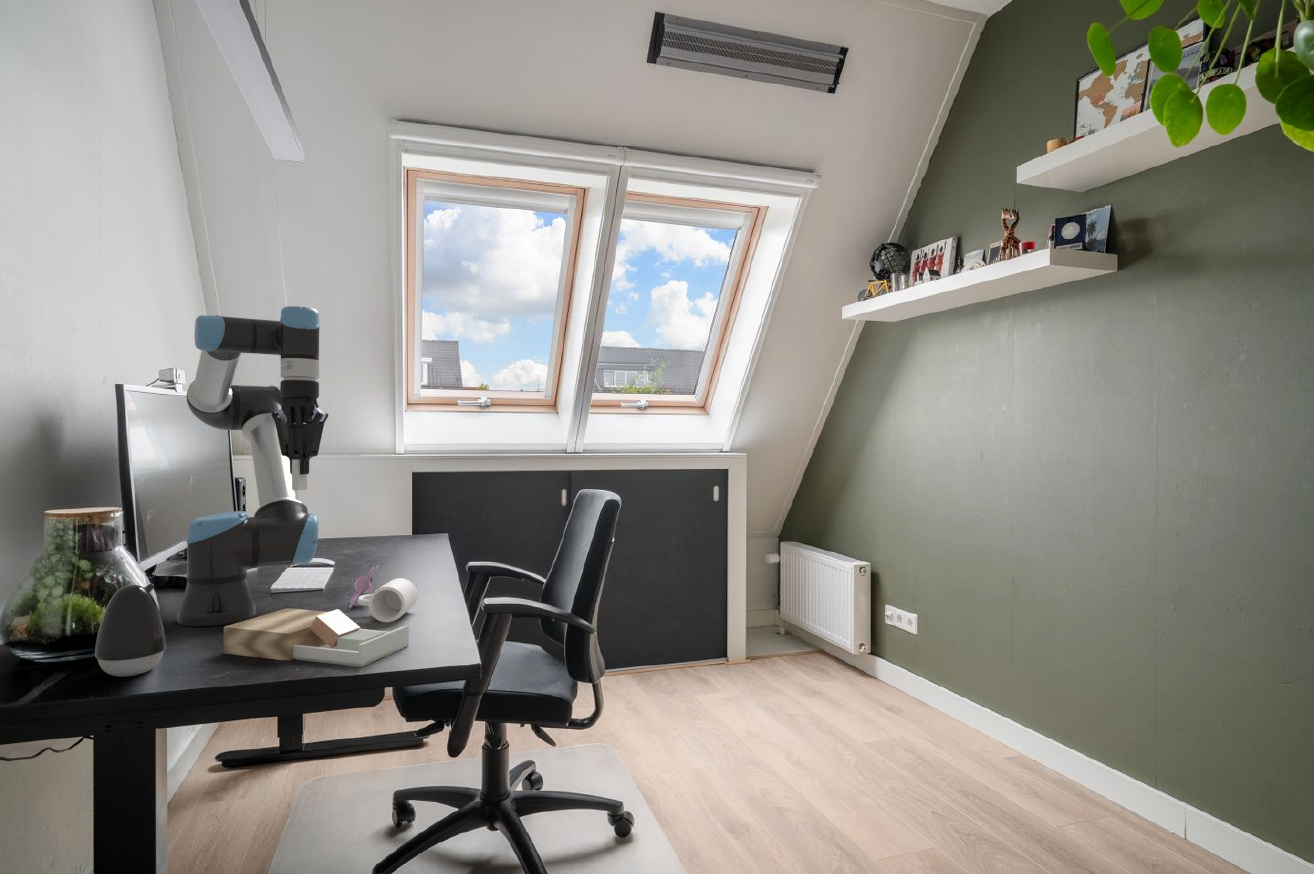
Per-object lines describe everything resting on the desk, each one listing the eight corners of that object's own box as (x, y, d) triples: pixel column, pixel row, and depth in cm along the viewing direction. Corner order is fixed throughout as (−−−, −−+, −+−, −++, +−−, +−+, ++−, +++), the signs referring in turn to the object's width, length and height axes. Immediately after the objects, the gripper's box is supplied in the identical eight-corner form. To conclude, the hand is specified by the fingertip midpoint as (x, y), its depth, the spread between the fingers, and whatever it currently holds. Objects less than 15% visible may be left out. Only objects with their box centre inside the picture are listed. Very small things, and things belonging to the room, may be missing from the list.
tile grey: (364, 640, 141) (364, 656, 141) (384, 632, 147) (384, 647, 147) (336, 637, 143) (336, 653, 143) (358, 629, 149) (358, 645, 149)
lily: (360, 601, 193) (341, 570, 190) (403, 583, 193) (385, 552, 190) (348, 627, 182) (328, 595, 178) (394, 609, 182) (374, 576, 178)
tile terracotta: (309, 628, 145) (316, 615, 145) (331, 621, 151) (338, 609, 150) (331, 647, 144) (338, 634, 143) (353, 639, 149) (360, 627, 149)
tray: (292, 659, 141) (293, 637, 141) (344, 639, 154) (344, 619, 154) (361, 667, 137) (362, 644, 137) (408, 646, 150) (408, 625, 150)
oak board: (223, 653, 144) (223, 626, 144) (286, 632, 160) (287, 608, 160) (288, 660, 140) (288, 633, 140) (347, 638, 155) (347, 613, 155)
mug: (417, 612, 178) (417, 577, 178) (404, 622, 169) (404, 586, 168) (365, 612, 178) (365, 577, 178) (349, 622, 168) (349, 586, 168)
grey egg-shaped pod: (180, 663, 138) (180, 579, 138) (139, 682, 128) (140, 591, 128) (124, 662, 138) (124, 578, 138) (79, 681, 128) (80, 590, 128)
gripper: (261, 378, 162) (261, 490, 162) (312, 378, 158) (312, 492, 159) (288, 381, 169) (287, 487, 169) (337, 380, 166) (336, 489, 166)
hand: (299, 489), depth 164 cm, fingers closed
